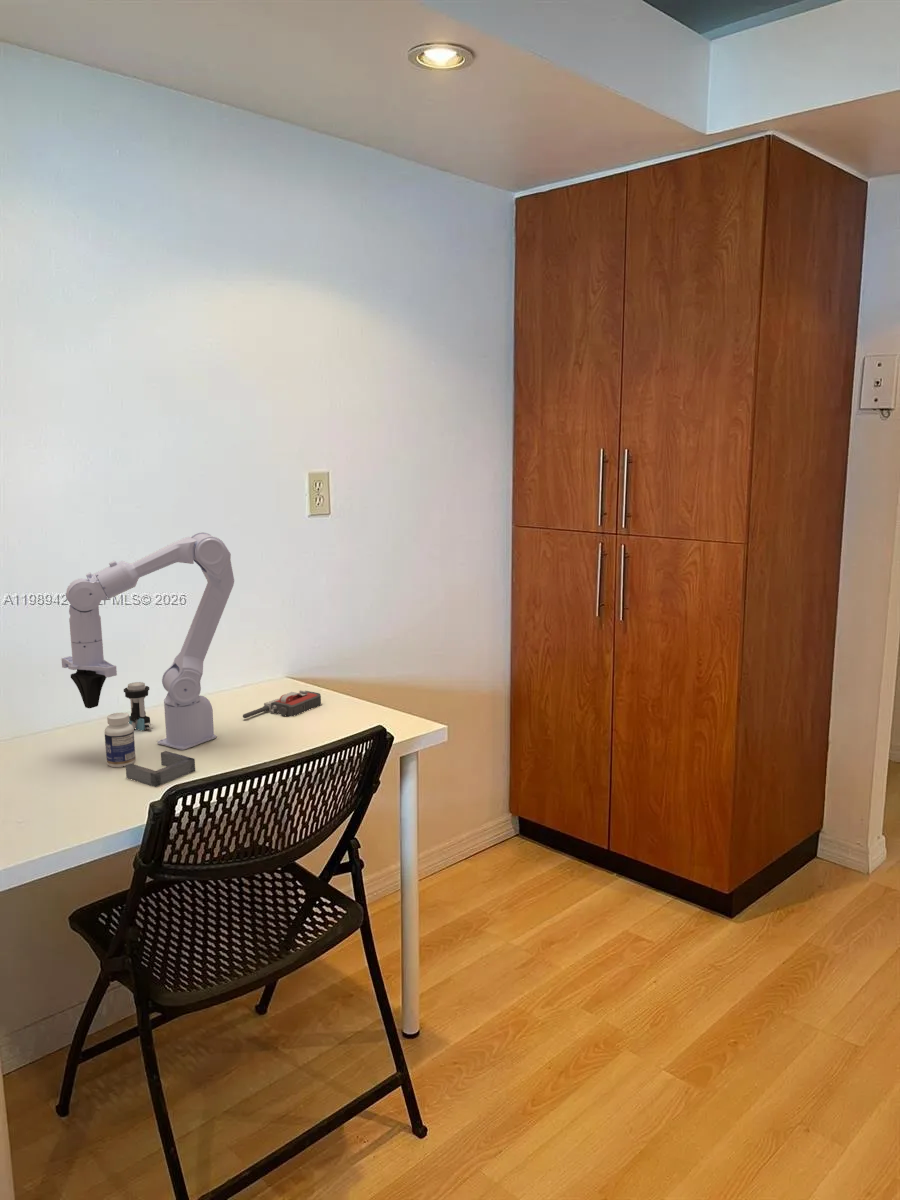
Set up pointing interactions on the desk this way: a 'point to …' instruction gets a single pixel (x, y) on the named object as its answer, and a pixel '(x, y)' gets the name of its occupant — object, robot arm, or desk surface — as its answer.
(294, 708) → the walkie-talkie
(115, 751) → the pill bottle
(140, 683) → the push button
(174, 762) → the docking socket
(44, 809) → the desk surface
